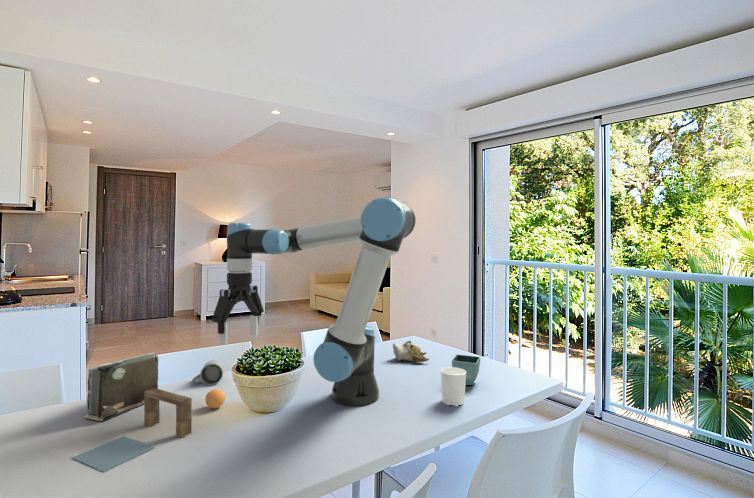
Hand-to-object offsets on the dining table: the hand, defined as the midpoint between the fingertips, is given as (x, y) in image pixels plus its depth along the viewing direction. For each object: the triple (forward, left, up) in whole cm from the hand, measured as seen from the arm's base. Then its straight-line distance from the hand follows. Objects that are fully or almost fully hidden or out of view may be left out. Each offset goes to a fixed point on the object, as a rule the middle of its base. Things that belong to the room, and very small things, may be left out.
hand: (239, 339), depth 135 cm
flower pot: (-60, -48, -19) cm, 79 cm away
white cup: (-61, -29, -19) cm, 70 cm away
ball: (0, +10, -16) cm, 18 cm away
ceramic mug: (+19, -5, -19) cm, 27 cm away
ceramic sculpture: (-32, -64, -19) cm, 74 cm away
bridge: (0, +26, -18) cm, 31 cm away
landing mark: (0, +40, -18) cm, 44 cm away
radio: (+24, +22, -19) cm, 37 cm away
